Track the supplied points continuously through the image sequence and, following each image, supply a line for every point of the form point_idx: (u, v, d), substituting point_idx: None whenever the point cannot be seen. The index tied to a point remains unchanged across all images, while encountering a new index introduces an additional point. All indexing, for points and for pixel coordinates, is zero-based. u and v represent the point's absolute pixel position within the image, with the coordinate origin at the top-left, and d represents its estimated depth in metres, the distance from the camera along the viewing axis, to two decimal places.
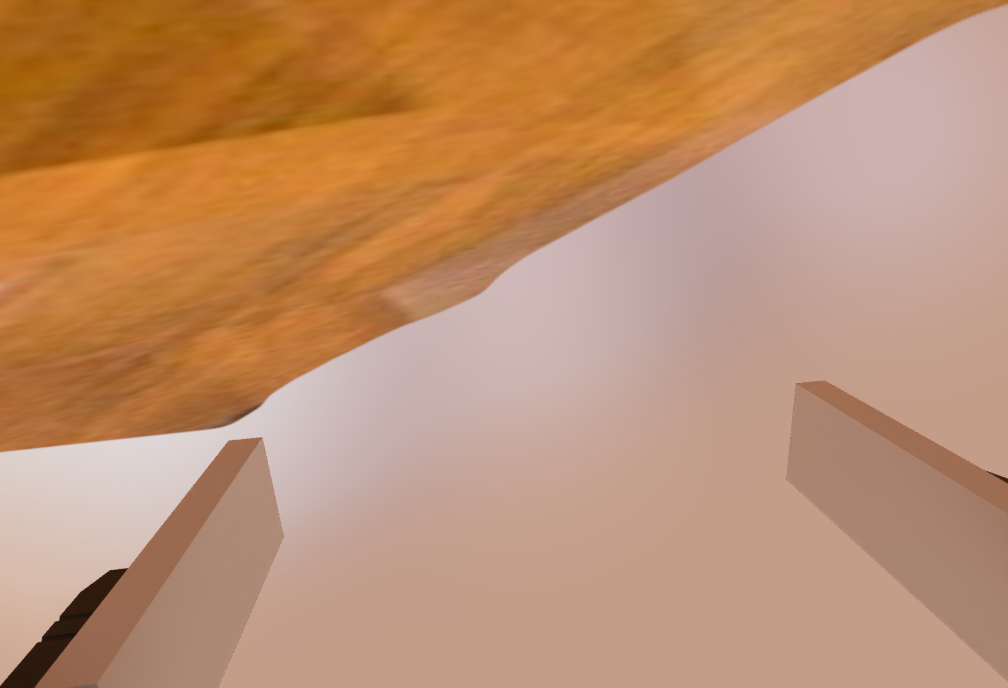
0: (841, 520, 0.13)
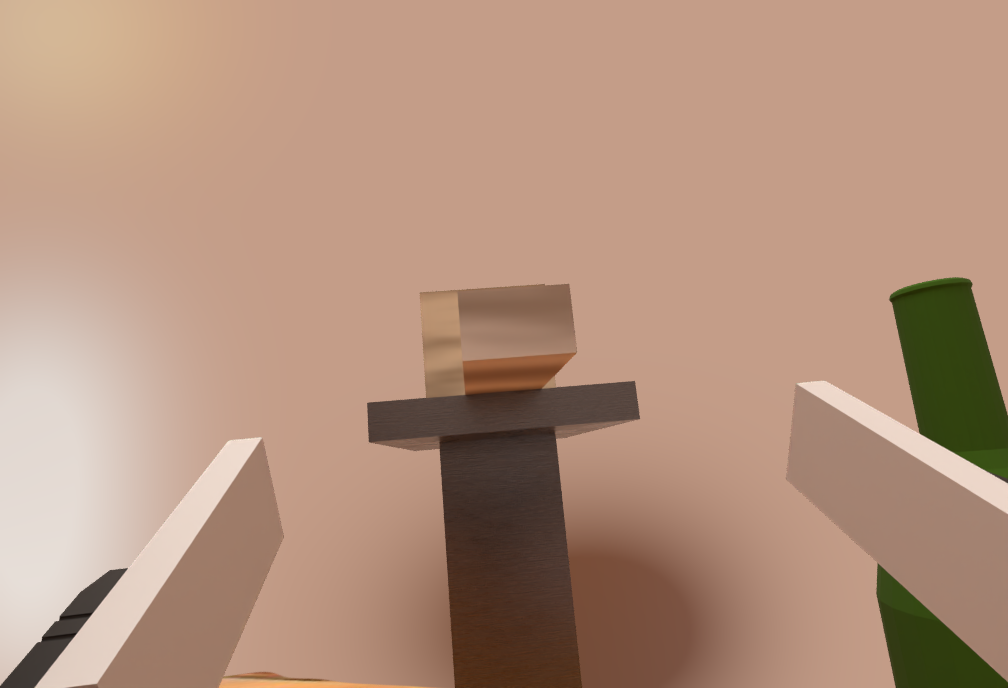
0: (841, 520, 0.13)
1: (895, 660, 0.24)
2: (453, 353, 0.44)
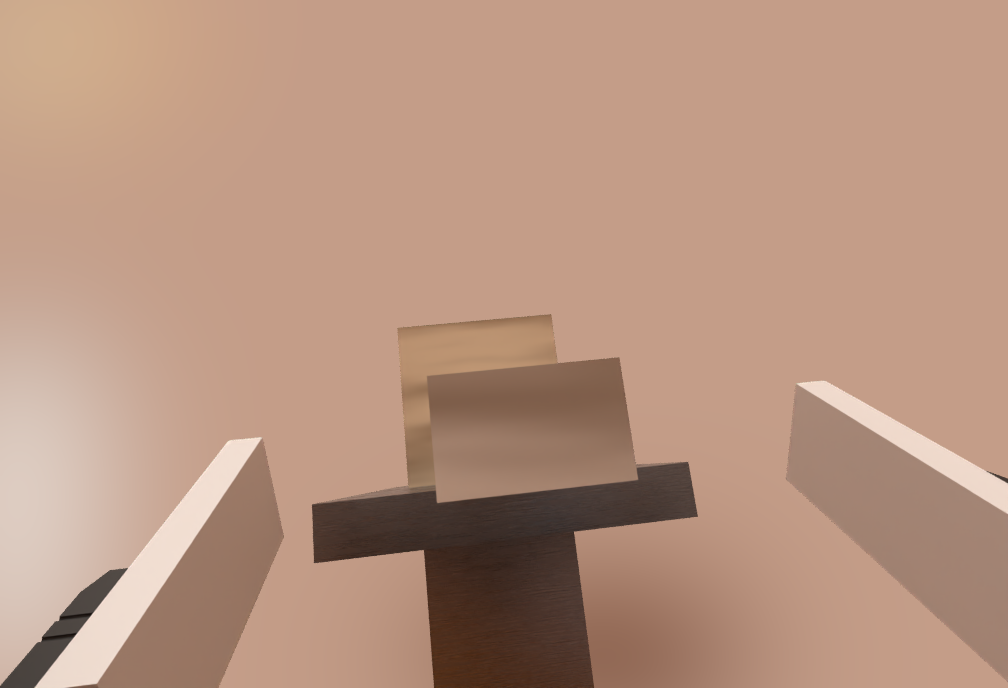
0: (841, 520, 0.13)
1: None
2: None
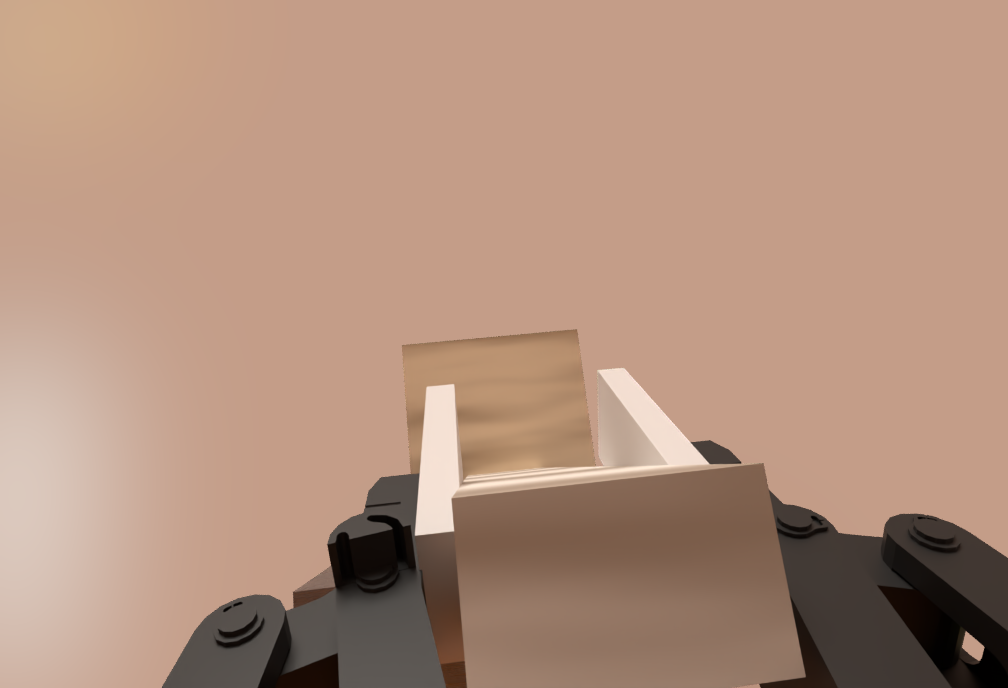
0: None
1: None
2: None
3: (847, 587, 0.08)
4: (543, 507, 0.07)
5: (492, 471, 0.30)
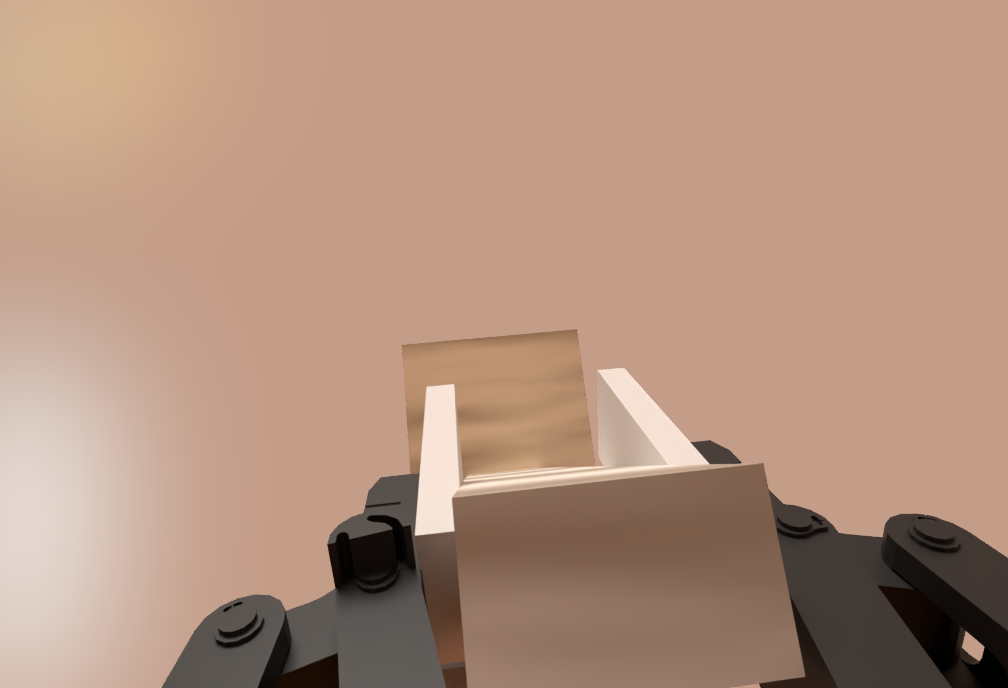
0: None
1: None
2: None
3: (846, 587, 0.08)
4: (543, 507, 0.07)
5: (492, 471, 0.30)
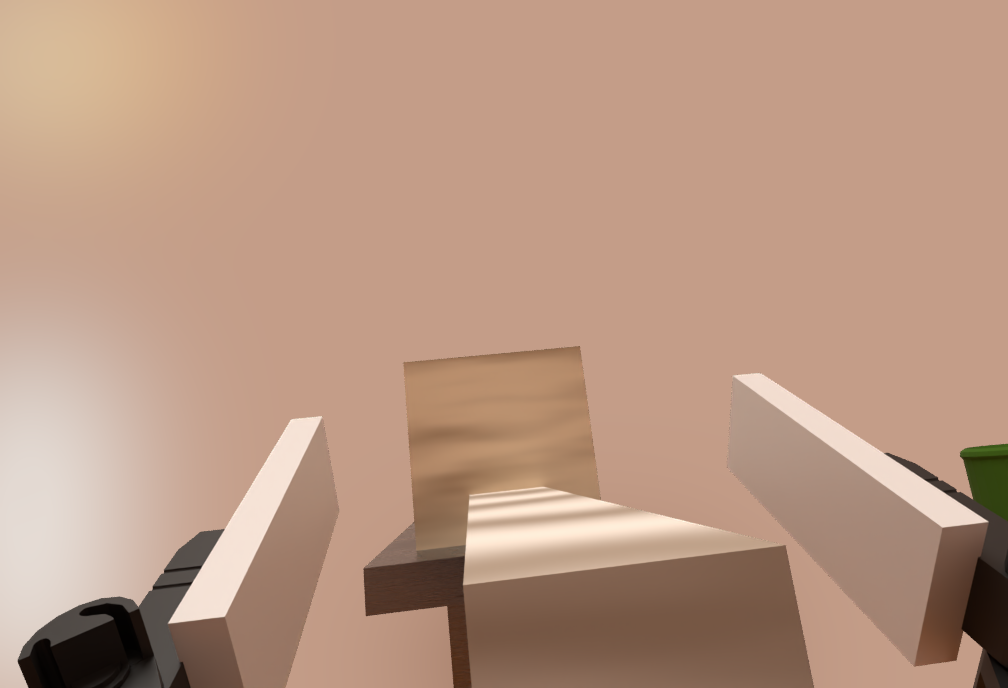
0: (770, 505, 0.13)
1: None
2: (453, 450, 0.31)
3: None
4: (558, 594, 0.07)
5: (494, 490, 0.30)
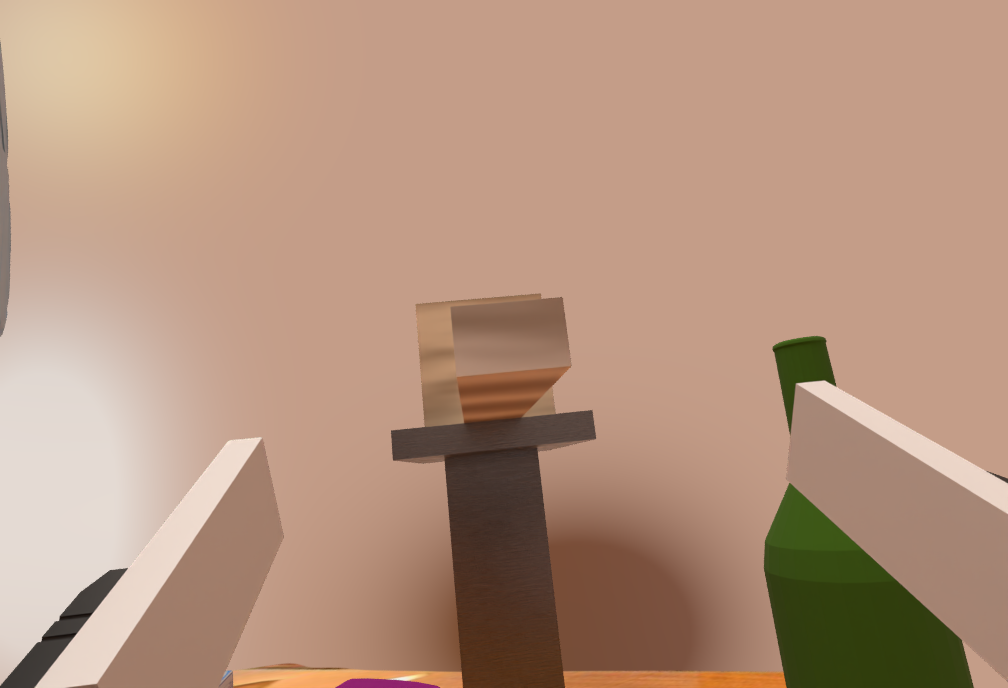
0: (841, 520, 0.13)
1: (773, 610, 0.33)
2: (450, 364, 0.44)
3: None
4: (482, 310, 0.20)
5: None
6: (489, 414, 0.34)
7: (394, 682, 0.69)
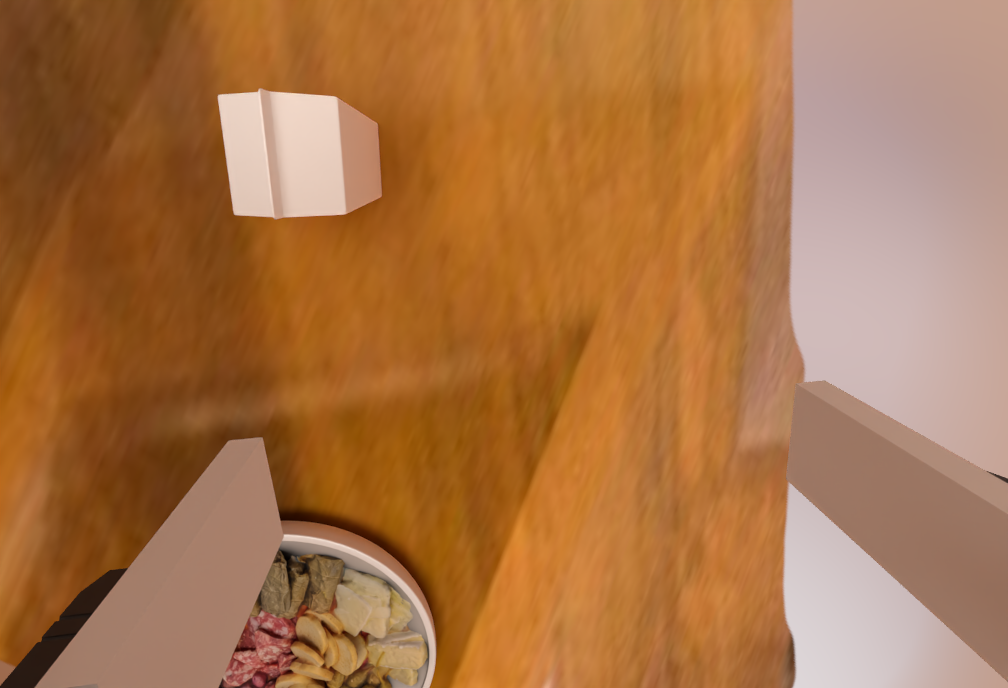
0: (840, 521, 0.13)
1: None
2: None
3: None
4: None
5: None
6: None
7: None
